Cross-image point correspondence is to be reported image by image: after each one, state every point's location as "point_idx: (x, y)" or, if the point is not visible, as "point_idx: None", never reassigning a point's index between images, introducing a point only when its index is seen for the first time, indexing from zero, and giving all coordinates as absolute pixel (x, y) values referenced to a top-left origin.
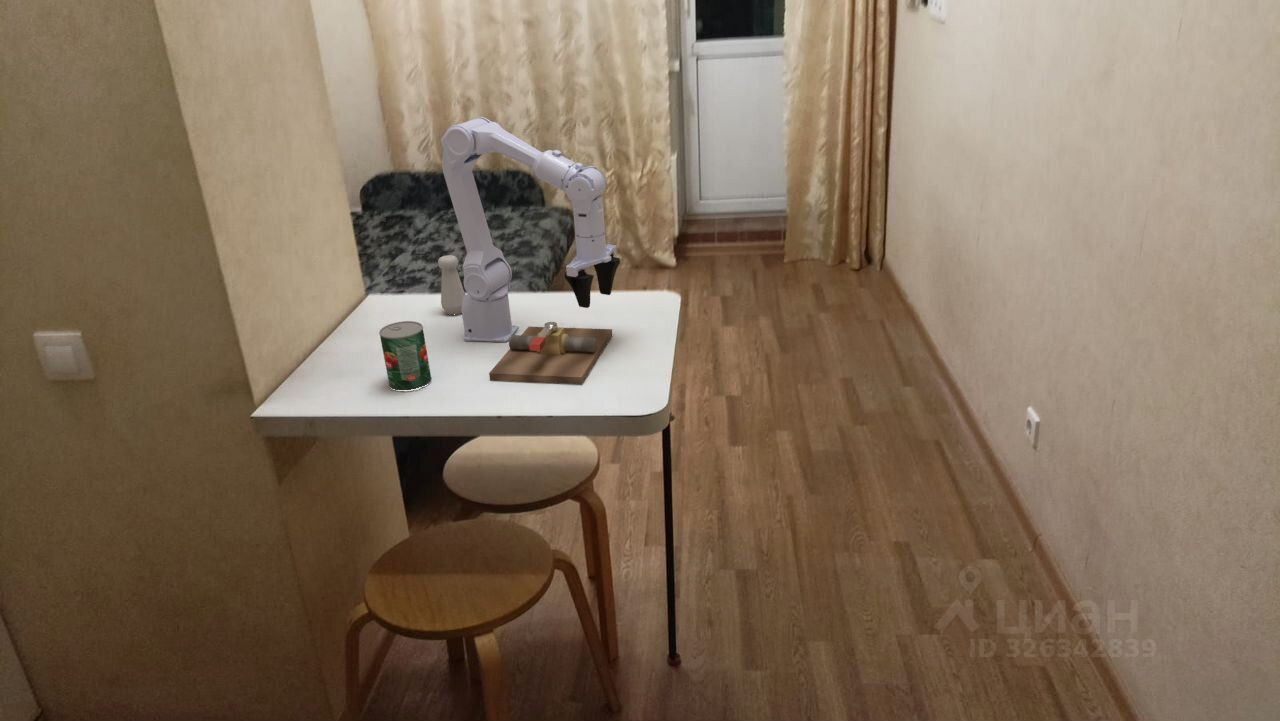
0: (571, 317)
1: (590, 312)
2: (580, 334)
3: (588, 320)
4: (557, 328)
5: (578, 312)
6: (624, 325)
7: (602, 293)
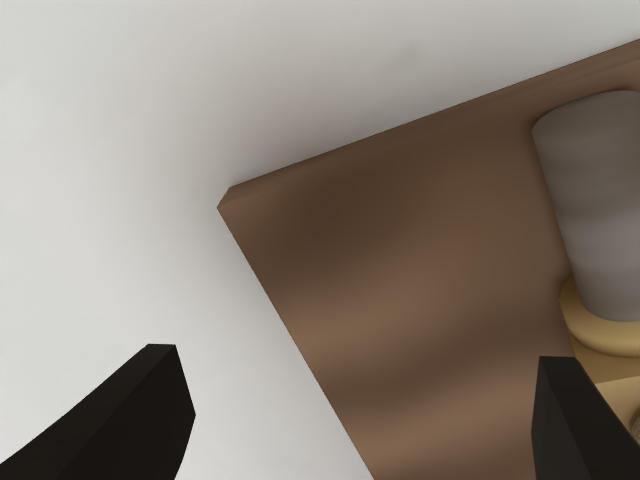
0: None
1: None
2: (371, 314)
3: None
4: None
5: None
6: (86, 209)
7: (188, 404)
